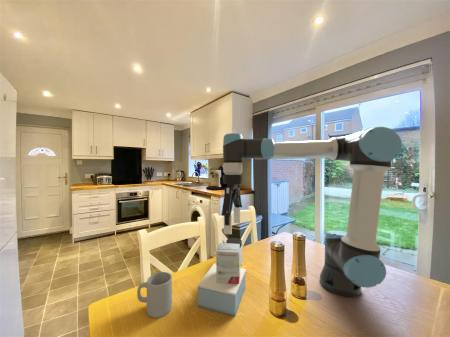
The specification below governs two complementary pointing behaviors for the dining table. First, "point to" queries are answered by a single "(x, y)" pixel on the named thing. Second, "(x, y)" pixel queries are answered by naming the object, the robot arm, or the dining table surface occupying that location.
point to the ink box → (228, 263)
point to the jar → (236, 241)
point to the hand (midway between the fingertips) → (232, 227)
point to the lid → (227, 288)
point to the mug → (157, 294)
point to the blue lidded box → (221, 300)
